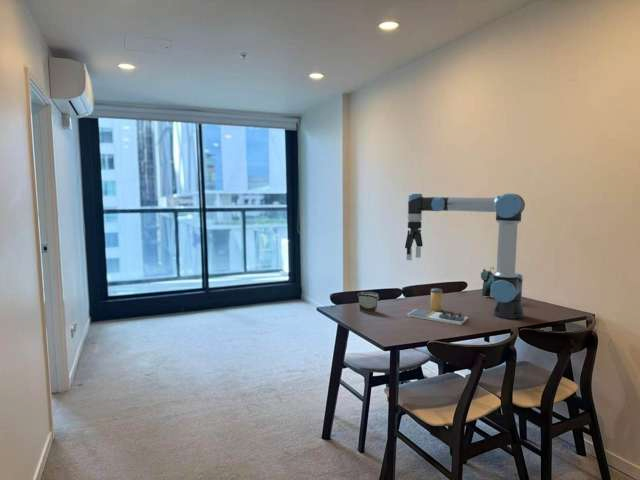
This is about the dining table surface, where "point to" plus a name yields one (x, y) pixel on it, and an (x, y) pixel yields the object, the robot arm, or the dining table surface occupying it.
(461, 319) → the board
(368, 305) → the food container
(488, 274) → the ceramic cat
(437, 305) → the yellow jar
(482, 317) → the dining table surface
